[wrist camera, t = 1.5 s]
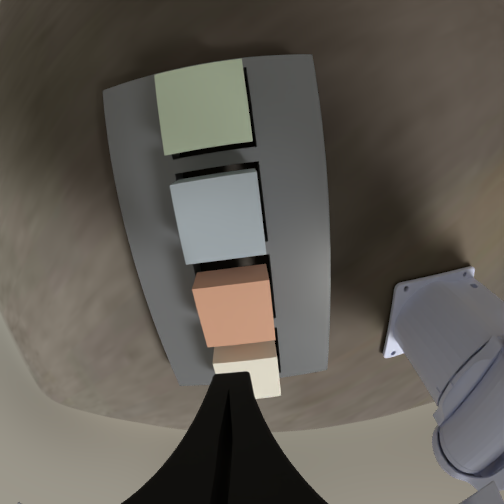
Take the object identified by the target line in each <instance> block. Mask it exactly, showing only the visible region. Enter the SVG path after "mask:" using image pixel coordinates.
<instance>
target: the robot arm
mask: <svg viewBox="0 0 504 504" xmlns="http://www.w3.org/2000/svg"><path fill="white" fill-rule="evenodd" d="M474 271H475V269H474V268H473V267H472V266H469V267H465V268H461V269H457V270H453V271H449V272H444V273H440V274H436V275H432V276H427V277H423V278H418V279H414V280H409V281H404V282H400V283H398V284H396V286H395V288H394V293H393V300H392V307H391V313H390V319H389V325H388V330H387V335H386V340H385V345H384V350H383V356H384V357H385V358H389V357H393V356H396V355H400V354H403V353H404V354H405V355H406V357H407V358H408V360H409V361H410V363H411V364H412V366H413V367H414V369H415V370H416V372H417V374H418V375H419V377H420V378H421V380H422V382H423V383H424V385H425V386H426V388H427V390H428V391H429V393H430V395H431V396H432V398H433V399H434V401H435V403H436V405H437V406H438V409H437V410H436V412H435V413H434V414H433V416H434V418H435V420H436V422H437V424H438V425H437V427H436V428H435V430H434V432H433V437H432V445H433V451H434V455H435V457H436V460H437V462H438V464H439V465H440V466H441V468H442V469H443V470H444V471H445V472H446V473H448V474H449V475H450V476H452V477H454V478H456V479H459V480H463V481H466V482H468V483H470V484H471V485H472V486H473V487H475V488H476V489H477V490H478V492H476V493H475V494H473V495H472V496H470V497H469V498H467V499H465V500H464V501H462V502H461V503H460V504H504V501H503V499H502V497H501V495H500V492H499V491H500V490H504V301H502V300H501V299H500V298H499V297H498V296H496V295H495V294H494V293H493V292H491V291H490V290H489V289H488V288H486V287H485V286H484V285H483V284H481V283H480V282H479V281H477V280H476V279H475V278H473V276H474ZM405 287H406V288H405ZM404 288H405V289H404ZM18 504H21V503H20V502H18ZM121 504H328V503H327V502H326V501H325V500H323V498H321V497H320V496H319V495H318V494H317V493H316V492H315V490H314V489H312V487H311V486H310V485H309V484H308V483H307V482H306V481H305V480H304V478H303V477H302V476H301V475H300V474H299V472H298V471H297V470H296V469H295V467H294V466H293V465H292V464H291V462H290V461H289V460H288V458H287V457H286V455H285V454H284V453H283V451H282V449H281V448H280V446H279V445H278V443H277V442H276V440H275V439H274V437H273V435H272V433H271V431H270V430H269V428H268V426H267V424H266V422H265V420H264V418H263V416H262V413H261V411H260V409H259V407H258V404H257V402H256V399H255V396H254V391H253V386H252V381H251V376H250V373H249V372H247V371H243V372H232V373H220V374H215V375H214V376H213V378H212V381H211V384H210V386H209V389H208V391H207V394H206V396H205V398H204V400H203V403H202V405H201V407H200V409H199V411H198V413H197V415H196V417H195V419H194V421H193V422H192V424H191V426H190V427H189V429H188V431H187V433H186V434H185V436H184V437H183V439H182V441H181V442H180V444H179V445H178V447H177V448H176V450H175V451H174V452H173V453H172V455H171V456H170V457H169V458H168V460H167V461H166V462H165V463H164V465H163V466H162V467H161V468H160V469H159V470H158V471H157V473H156V474H155V475H154V476H153V477H152V478H151V479H150V480H149V481H148V482H146V483H145V485H143V486H142V487H141V488H140V489H139V490H138V491H137V492H136V493H134V494H133V495H132V496H131V497H130V498H128V499H127V500H125V501H124V502H123V503H121Z"/></svg>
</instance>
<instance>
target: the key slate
mask: <svg viewBox="0 0 504 504" xmlns="http://www.w3.org/2000/svg"><path fill="white" fill-rule="evenodd" d="M170 190H171V196H172V201H173V206H174V211H175V216H176V221H177V226H178V231H179V236H180V240H181V245H182V250H183V254H184V258H185V263H186V265H188V264H196V263H204V262H212V261H220V260H227V259H235V258H243V257H251V256H258V255H266V246H265V237H264V228H263V220H262V211H261V203H260V195H259V186H258V178H257V171H256V170H255V168H252V169H244V170H236V171H229V172H222V173H216V174H209V175H203V176H197V177H191V178H185V179H180V180H177V181H176V182H174V183H172V184H171V185H170Z"/></svg>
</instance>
